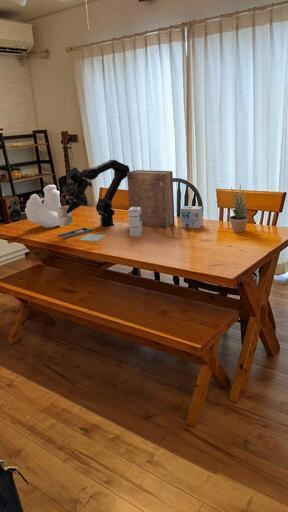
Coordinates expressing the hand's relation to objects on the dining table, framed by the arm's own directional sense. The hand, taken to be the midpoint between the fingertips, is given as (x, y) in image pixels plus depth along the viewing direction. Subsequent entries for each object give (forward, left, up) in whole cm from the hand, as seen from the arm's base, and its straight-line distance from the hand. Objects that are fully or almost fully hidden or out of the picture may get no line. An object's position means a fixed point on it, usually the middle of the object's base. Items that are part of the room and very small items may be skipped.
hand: (65, 212), depth 218 cm
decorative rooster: (+5, -30, -13) cm, 33 cm away
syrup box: (-30, +22, -13) cm, 40 cm away
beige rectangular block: (+1, 0, -7) cm, 7 cm away
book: (-48, +7, -13) cm, 51 cm away
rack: (-4, -1, -13) cm, 14 cm away
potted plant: (-75, +51, -13) cm, 92 cm away
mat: (-9, +12, -13) cm, 20 cm away
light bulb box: (-62, +27, -13) cm, 69 cm away
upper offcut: (-7, -2, -13) cm, 15 cm away
